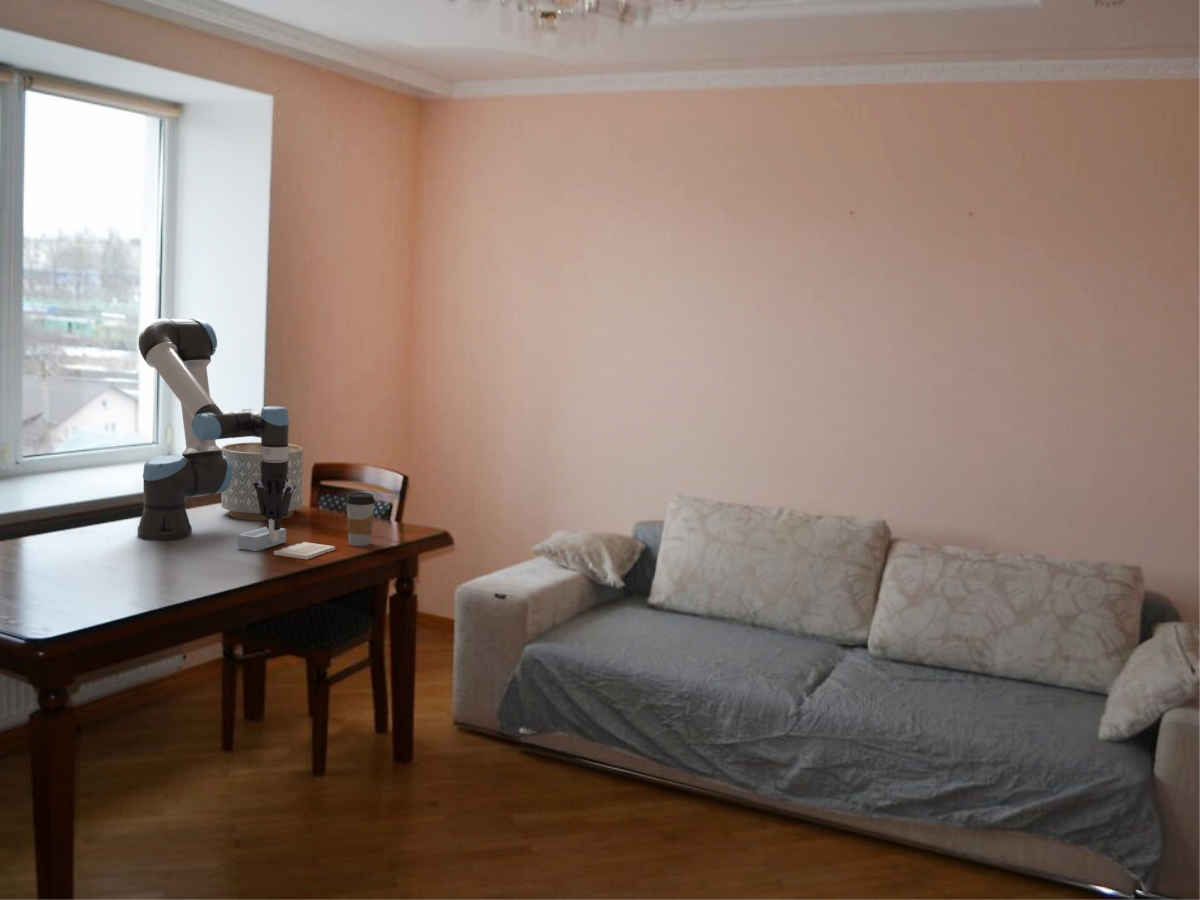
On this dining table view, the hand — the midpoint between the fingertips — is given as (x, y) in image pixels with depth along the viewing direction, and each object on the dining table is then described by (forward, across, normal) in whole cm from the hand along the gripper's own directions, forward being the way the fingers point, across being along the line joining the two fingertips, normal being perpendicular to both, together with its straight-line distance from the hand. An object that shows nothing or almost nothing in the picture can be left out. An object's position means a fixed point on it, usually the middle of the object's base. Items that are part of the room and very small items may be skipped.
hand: (273, 540), depth 331 cm
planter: (+3, -32, +37) cm, 49 cm away
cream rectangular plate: (+2, +11, 0) cm, 11 cm away
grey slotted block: (+2, -4, 0) cm, 4 cm away
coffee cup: (+2, +18, +17) cm, 25 cm away
